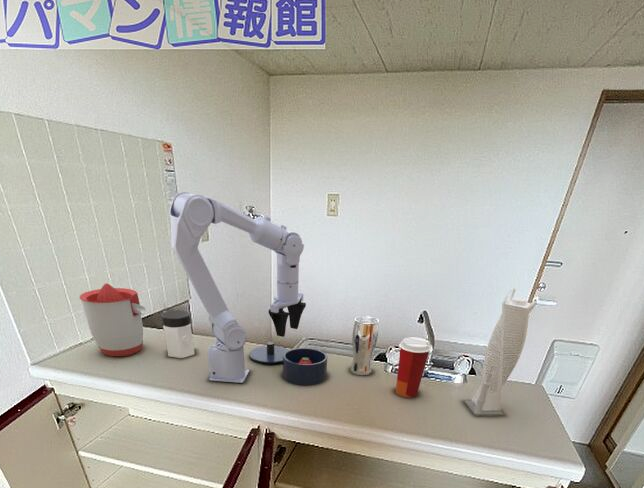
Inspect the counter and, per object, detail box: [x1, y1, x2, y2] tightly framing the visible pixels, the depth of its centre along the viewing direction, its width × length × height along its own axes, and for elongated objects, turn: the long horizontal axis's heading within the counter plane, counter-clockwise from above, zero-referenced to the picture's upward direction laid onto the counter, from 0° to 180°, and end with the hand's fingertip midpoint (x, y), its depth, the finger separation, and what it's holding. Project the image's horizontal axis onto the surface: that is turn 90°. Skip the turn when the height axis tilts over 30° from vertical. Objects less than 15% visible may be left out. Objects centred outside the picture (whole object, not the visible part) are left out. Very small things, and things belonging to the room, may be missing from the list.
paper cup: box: [395, 336, 432, 398], centre depth 103 cm, size 8×8×14 cm
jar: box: [161, 310, 195, 359], centre depth 122 cm, size 9×8×12 cm
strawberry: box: [299, 357, 312, 364], centre depth 113 cm, size 4×4×5 cm
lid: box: [248, 341, 290, 364], centre depth 124 cm, size 13×13×4 cm
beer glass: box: [350, 315, 380, 376], centre depth 114 cm, size 7×7×15 cm
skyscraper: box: [463, 287, 537, 417], centre depth 94 cm, size 8×8×28 cm
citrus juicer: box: [79, 282, 147, 357], centre depth 121 cm, size 16×17×20 cm
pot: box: [282, 347, 328, 386], centre depth 113 cm, size 12×12×6 cm
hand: (287, 332), depth 115 cm, fingers open, 7 cm apart
